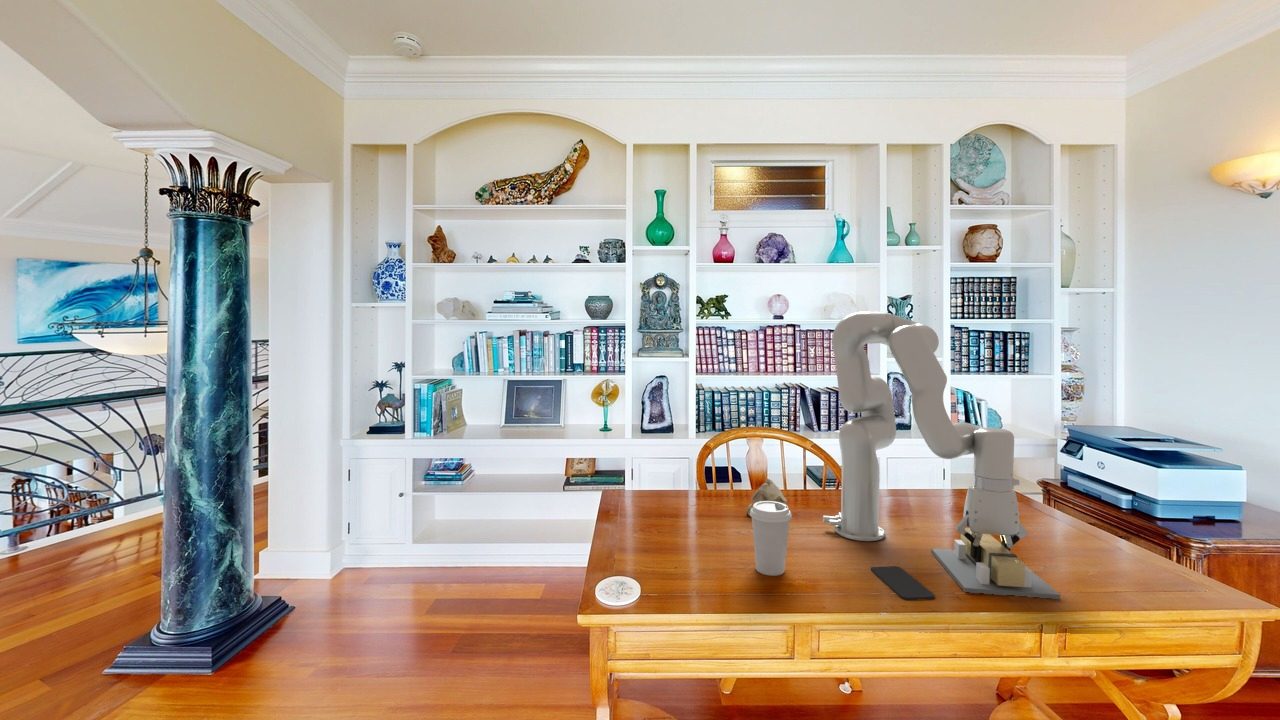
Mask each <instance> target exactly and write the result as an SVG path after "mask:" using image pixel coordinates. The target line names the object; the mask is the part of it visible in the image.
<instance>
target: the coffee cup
mask: <svg viewBox="0 0 1280 720" xmlns="http://www.w3.org/2000/svg"><path fill="white" fill-rule="evenodd" d="M749 516H750V517H751V525H752V536H753V547H754V548H753V549H754V561H755V570H756V571H757V572H758V573H760V574H762V575H765V576H769V577H770V576H775V577H776V576H781V575H783V574H784V573H785V571H786V559H787V550H788V540H789V539H788V538H789V530H790V529H789V528H790V520H792V518H793V516H792V512H791V510H790V509H789V506H788V505H787V504H786V505H785V504H783V503H780V502H775V501H760V502H756V503H755V504H754V505H753V508H752V509H751V511H750V515H749Z"/></svg>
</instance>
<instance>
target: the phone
mask: <svg viewBox="0 0 1280 720" xmlns="http://www.w3.org/2000/svg"><path fill="white" fill-rule="evenodd" d="M870 572H872V573H873V574H874V575H875V576H876V577H877V578H878V579H879V580H880V581H881V582H883V583H884V585H886V586H887V587H888V588H889V589H890V590H891V591H892V592H893V593H895V595H896V596H897V597H899V599H901V600H903V601H918V599H926V600H934V599H936V594H934V592H932V591H931V590H930V589H928V588H927V587H926V586H924V585H923V584H922V583H921V582H920V581H918V580H917V579H916V578H915V577H913V576H912V575H911V574H910V573H909V572H907V571H906V570H904V569H903V568H902V567H900V566H897V565H896V566H894V565H892V566H889V565H888V566H871V567H870Z"/></svg>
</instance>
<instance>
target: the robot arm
mask: <svg viewBox="0 0 1280 720" xmlns="http://www.w3.org/2000/svg"><path fill="white" fill-rule="evenodd" d="M833 330H834V331H833V333H832V339H831V340H832V341H831V343H832V351H833V356H834V361H835V370H836V379H837V386H838V395H839V397H838V398H839V402H840V404H841V406H842V408H843V409H844V410H845V411H847V412H848V413H849V412H850V413H854V414H856V413H860V415H861V416H858V417H855V418H852V419H848V420H847V421H846V422H844V424H843V425H842V426H841V428H840V429H839V433H838V442H839V448H840V457H841V492H840V493H841V498H840V499H841V501H840V502H841V503H840V507H841V508H840V511H839V512H838V514H836V515H833V516H830V515H823V516H822V522H823V523H826V524H828V525H829V526H834V531H835V533H836V534H838V535H839V536H841V537H843V538H845V539H850V540H854V541H860V542H876V541H880V540H882V539H884V537H885V529H883V528H882V527H880V526H879V523H880V522H879V518H880V517H879V514H880V480H881V479H880V478H881V477H880V463H879V460H878V457H877V452H876V451H878V450H881V449H885V448H888V447H889V446H890V445H892V444H893V442H894V441H895V439H896V435H897V425H896V416H895V408H894V401H893V395H892V391H891V388H890V386H889V384H888V383H887V382H886V380H884V379H883V378H881V377H878V376H875V375H871V368H870V361H869V357H868V355H867V353H866V351H865V349H864V347H865V345H866V344H869V345H870V344H883V345H884V346H885V345H886V346H888V348H889V350H890V352H891V355H892V357H893V358H894V359H895V362H896V363H897V364H896V365H897V366H898V367H899V369H900V372H901V373H902V375H903V377H904V379H905V382H906V384H907V385H908V387H909V389H910V392H911V404H912V405H911V406H912V412H913V417H914V420H915V423H916V426H917V428H918V431H919V432H920V434H921V436H922V438H923V440H924V442H925V444H926V445H927V447H928V448H929V449H930V451H931V452H932V453H933V454H934V455H936V456H937V457H938V458H942V459H945V460H952V459H953V460H954V459H957V458H959V457H962V456H967V455H973V477H972V479H973V480H972V485H969V486H968V488H967V492H966V497H965V500H964V508H963V514H962V515H963V516H962V519H961V520H960V521H959V522H958V523H957V524H956V525H955V528H954V529H955V531H957V532H958V533H960V535H961V534H962V535H964V536H965V537H966V538H967V539H968V540H969V541H970V542H971V557H972V558H973V560H974V561H975V562H980V563H981V547H980V541H981V538H982V535H983V534H990V535H991V536H992V535H993V536H1000V540H1001V542H1000V543H1001V544H1002V545H1003V546H1004V547H1006V548H1007V549H1008V550H1009V551H1010V552H1011V549H1012V548H1013V547H1014V545H1015V544H1016V543H1018V542H1019V541H1020V539H1021V540H1022V539H1023V538H1025V537H1026V536H1027V535H1029V533H1028V531H1027V530H1026V528H1025V527H1024V526H1023V525H1022V524H1021V522H1020V513H1019V503H1018V498H1017V493H1016V491H1015V490H1014V486H1020V479H1016V478H1014V461H1015V460H1014V459H1015V436H1014V435H1015V434H1013V432H1012V431H1010V430H1008V429H1004V428H999V427H998V428H997V427H986V426H980V425H976V424H973V423H969V422H965V421H964V422H962V421H961V422H959V421H958V422H955V423H953V422H952V420H951V419H950V417H949V415H948V412H947V410H946V407H945V403H944V391H945V389H946V386H947V382H948V376H947V374H946V372H945V371H944V369H943V368H942V365H941V363H940V362H939V360H938V359H937V357H936V354H935V352H936V351H937V350H938V347H939V341H940V340H939V335H938V334H937V332H936V331H935V330H934V329H933V328H932V327H930V326H928V325H925V324H923V323H919V322H917V321H915V320H911V319H907V318H905V317H902V316H898V315H895V314H893V313H889V312H883V311H857V312H854V313H849V314H848V315H846V316H845V317H844V318H842V319H841V320H840V321H839V322H838V323H837V325H836V326H835V328H834V329H833ZM965 528H970V530H971V533H968V532H967V531H966V530H965Z"/></svg>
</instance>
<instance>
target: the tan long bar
mask: <svg viewBox="0 0 1280 720" xmlns="http://www.w3.org/2000/svg"><path fill="white" fill-rule="evenodd" d="M965 530H966V531H967V532H968V533H971V530H970V527H966V528H965ZM960 540H961V541H962V542H963V543H964V544H965V545H966V554H967V555H968V556H969V557H970V558H971V559H972V560H973V558H972V557H971V542H970V541H969V540H968V539H967V538H966V537H965V536H964V535H962V534H961V533H960ZM980 547H981V563H985V564H986V565H987V566H988V567H989V568H990V578H991V579H992V580H993V581H994V582H995V583H996V584H997V585H1000V586H1015V587H1024V578H1025V565H1026V563H1025V562H1024V561H1022V560H1021V559H1020V558H1019V557H1018V555H1016V554H1015V553H1013V552H1012V551H1011V550H1010V551H1009V550H1008V549H1007V548H1006V547H1004V546H1003V545H1002V544H1001V542H999V541H998V540H997V539H996V538H995V537H994V536H992V535H991V534H983V535H982V538H981V541H980ZM973 561H974V560H973ZM974 562H975V561H974ZM975 563H976V562H975Z"/></svg>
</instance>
